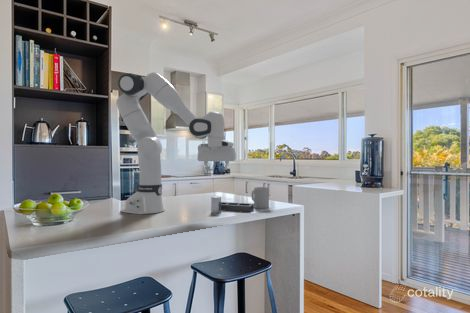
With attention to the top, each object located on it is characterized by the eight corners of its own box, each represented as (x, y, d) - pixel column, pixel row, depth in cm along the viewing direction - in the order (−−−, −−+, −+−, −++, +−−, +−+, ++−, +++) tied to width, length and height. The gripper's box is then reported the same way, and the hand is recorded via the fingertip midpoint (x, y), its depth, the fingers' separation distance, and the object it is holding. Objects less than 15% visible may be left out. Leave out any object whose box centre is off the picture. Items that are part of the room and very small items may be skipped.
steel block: (211, 212, 154) (211, 197, 153) (214, 211, 157) (214, 196, 157) (218, 213, 152) (218, 197, 152) (221, 211, 156) (221, 196, 156)
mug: (272, 207, 169) (272, 188, 169) (261, 209, 163) (261, 189, 163) (257, 204, 178) (257, 186, 178) (246, 206, 172) (246, 187, 172)
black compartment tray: (212, 209, 162) (212, 204, 162) (217, 206, 170) (217, 201, 170) (249, 212, 155) (250, 206, 155) (253, 209, 164) (253, 203, 164)
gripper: (195, 143, 154) (195, 170, 154) (232, 142, 148) (233, 170, 148) (200, 143, 160) (200, 169, 160) (236, 143, 154) (236, 169, 154)
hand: (216, 170), depth 154 cm, fingers open, 8 cm apart
